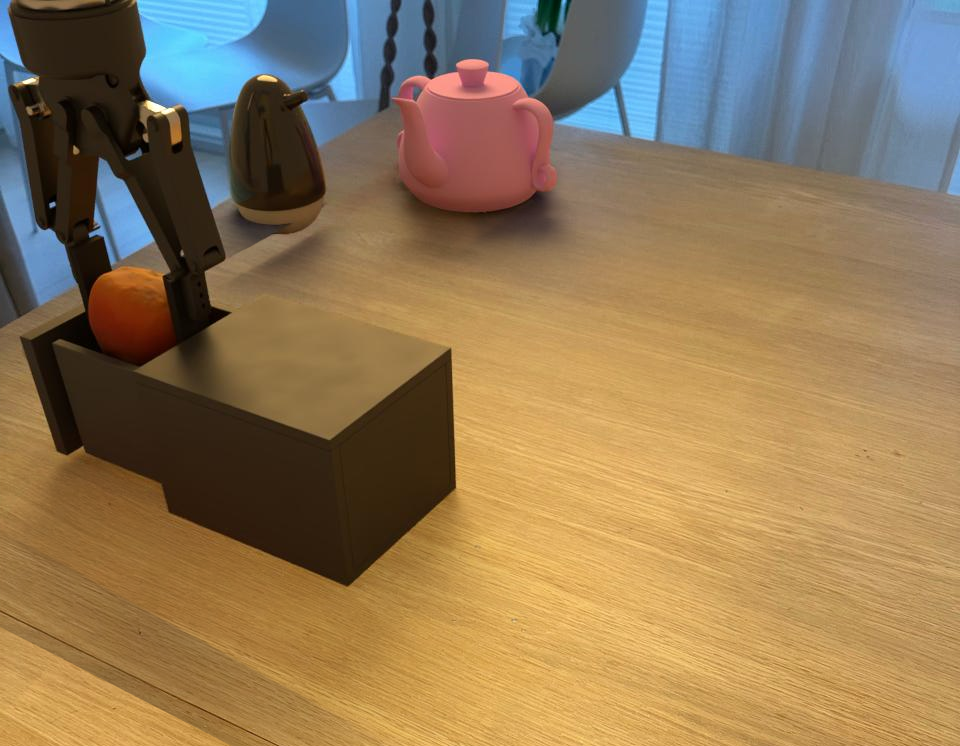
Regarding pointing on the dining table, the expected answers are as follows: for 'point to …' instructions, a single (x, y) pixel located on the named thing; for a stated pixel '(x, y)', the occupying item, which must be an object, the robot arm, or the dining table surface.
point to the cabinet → (302, 433)
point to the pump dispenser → (274, 157)
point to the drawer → (92, 392)
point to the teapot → (473, 140)
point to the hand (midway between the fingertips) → (152, 340)
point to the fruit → (131, 315)
